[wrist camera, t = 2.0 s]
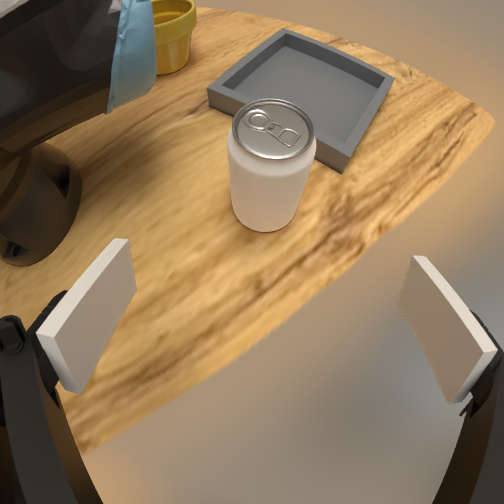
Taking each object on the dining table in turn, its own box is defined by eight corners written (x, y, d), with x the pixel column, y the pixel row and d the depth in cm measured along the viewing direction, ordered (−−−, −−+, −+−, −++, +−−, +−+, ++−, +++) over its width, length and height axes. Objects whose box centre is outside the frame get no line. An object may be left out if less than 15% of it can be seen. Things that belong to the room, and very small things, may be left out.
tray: (209, 106, 35) (206, 87, 32) (281, 44, 39) (282, 28, 36) (341, 173, 32) (349, 157, 29) (387, 93, 37) (395, 78, 34)
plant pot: (183, 37, 40) (176, -10, 31) (213, 63, 38) (209, 9, 28) (126, 62, 38) (110, 15, 29) (147, 93, 36) (130, 38, 26)
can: (256, 166, 32) (261, 83, 21) (308, 198, 31) (337, 122, 20) (218, 209, 30) (205, 133, 19) (272, 246, 29) (288, 183, 18)
